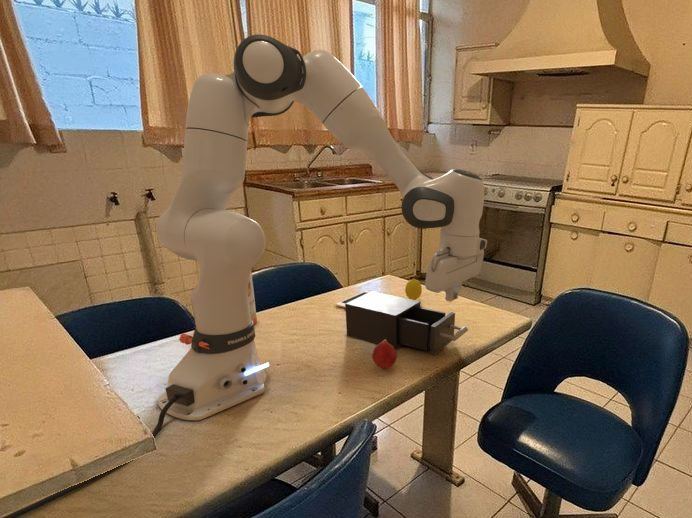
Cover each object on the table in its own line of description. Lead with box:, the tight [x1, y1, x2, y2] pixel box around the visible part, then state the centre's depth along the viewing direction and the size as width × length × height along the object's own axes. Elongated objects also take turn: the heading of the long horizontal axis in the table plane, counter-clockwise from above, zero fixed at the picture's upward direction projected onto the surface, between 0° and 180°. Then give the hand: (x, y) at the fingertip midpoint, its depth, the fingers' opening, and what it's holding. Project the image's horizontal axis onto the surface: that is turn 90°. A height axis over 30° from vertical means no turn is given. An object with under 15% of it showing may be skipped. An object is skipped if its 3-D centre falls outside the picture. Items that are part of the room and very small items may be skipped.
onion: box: [371, 340, 398, 371], centre depth 109 cm, size 6×6×8 cm
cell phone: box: [335, 290, 370, 309], centre depth 154 cm, size 8×16×1 cm, turn 148°
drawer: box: [397, 306, 469, 356], centre depth 121 cm, size 20×11×8 cm, turn 60°
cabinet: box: [344, 290, 421, 350], centre depth 128 cm, size 17×13×10 cm
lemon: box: [404, 277, 423, 301], centre depth 154 cm, size 6×6×8 cm
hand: (451, 299), depth 110 cm, fingers closed
